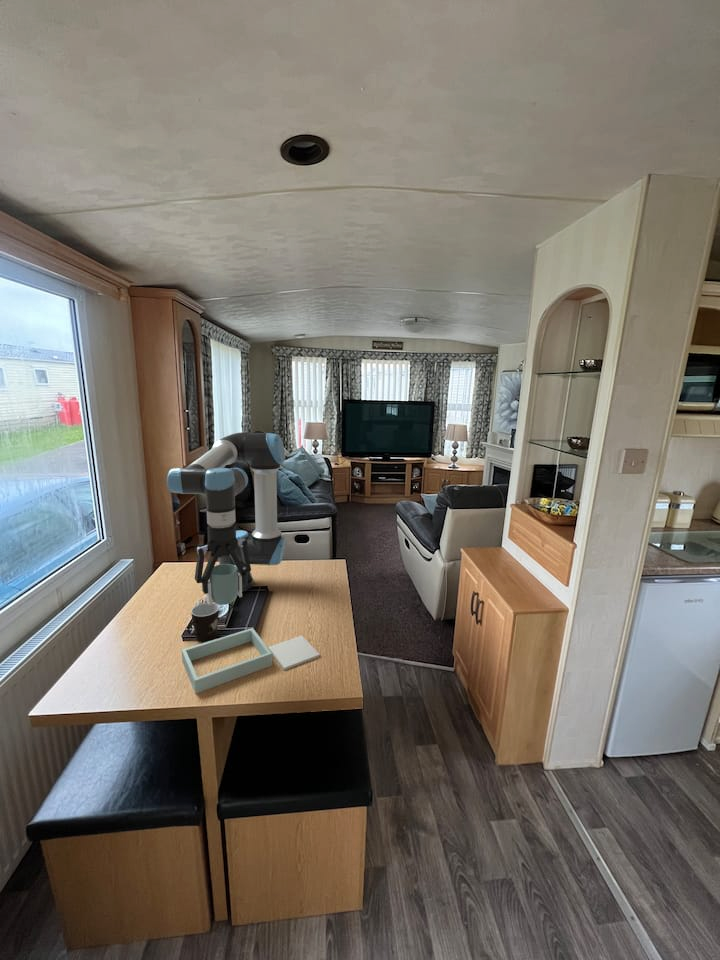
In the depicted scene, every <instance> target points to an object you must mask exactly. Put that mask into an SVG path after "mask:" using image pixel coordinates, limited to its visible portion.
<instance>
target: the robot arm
mask: <svg viewBox="0 0 720 960" xmlns="http://www.w3.org/2000/svg"><path fill="white" fill-rule="evenodd" d="M285 454H286V453H285V446H284V442H283V438H282V437H281V436H280V434H278V433H272V432H271V433H270V432H237V433H232V434H229V435H226V436H224V437H222V438H220V439H218V440H216V441H215V442H214V443H213V445H212V447H211V449H210V450H207V452H205V453H204V454H203V455H201V456H200V457H199V458H197V459H196V460H194V461H193V462H192V463H190V464H188V466H186V467H184V468H182V467H177V468H176V467H174V468H171V469H169V471H168V473H167V476H166V485H167V489H168V490H169V491H170V492H171V493H174V494H181V495H184V494H185V495H189V494H190V495H205V501H206V503H205V504H206V523H207V525H208V526H207V543H206V544H205V545H203V546H199V545H197V547H196V553H197V558H196V564H195V573H194V580H195V582H196V583H197V584H201V588H202V593H203V594H204V595H206V603H208V604H209V605H212V603H213V600H212V595H211V583H210V581H209V578H210V576H211V573H212V571H213V568H214V566H216V563H217V561H218V563H219V564H218V565H220V564H232V565H235V566H236V567H237V568H238V594H237V597H239V598H242V597H243V593H244V592H243V591H245V590H247V589H249V588H251V587H252V588H253V587H254V577H253V576H252V572H251V571H252V567H251V565H253V566H254V565H256V566H257V565H259V566H277V565H279V564H281V563H282V561H283V557H284V553H285V549H286V537H284V536H282V531H281V530H280V529H279V528H278V499H277V498H278V497H277V496H278V491H277V489H278V488H277V484H278V483H277V479H278V478H277V472H278V471H279V469H280V468H281V465H282V464H284V462H285V460H286V459H285V458H286V457H285V456H286V455H285ZM234 463H246V464H247V463H248V464H249V469H251V470H252V472H253V473H254V474H253V476H254V477H253V478H254V513H255V515H254V516H255V517H254V518H255V522H254V523H255V529H254V530H253V531H252V532H251V535H249V532H248V531H246V530H242V529H241V530H239V529H238V530H237V525H236V521H237V520H236V496H237V495H239V494H240V493H242V492H243V491H244V490H245V488H246V487H247V485H248V484H249V477H248V475H247V473H246V472H245V470H244V469H241V468H239V467H231V468H226V466H227V465H231V464H234ZM207 551H209V552H210V554H209V559H208V561H207V564H206V566H205V569H204V565H205V555H206V554H207ZM252 588H251V589H252ZM242 592H243V593H242Z"/></svg>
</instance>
